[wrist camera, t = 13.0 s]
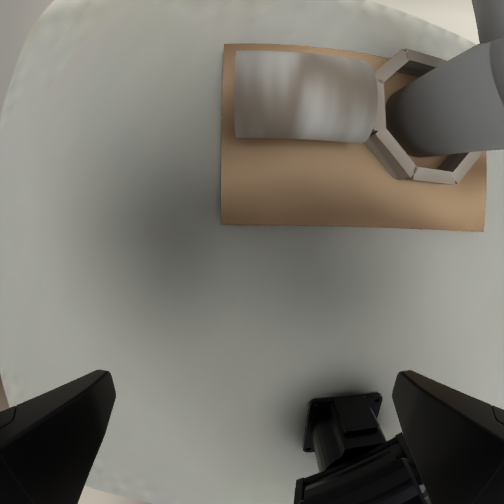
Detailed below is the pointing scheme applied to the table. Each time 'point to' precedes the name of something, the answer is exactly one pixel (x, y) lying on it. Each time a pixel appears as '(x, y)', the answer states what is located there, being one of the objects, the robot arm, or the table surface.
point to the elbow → (456, 97)
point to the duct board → (333, 145)
